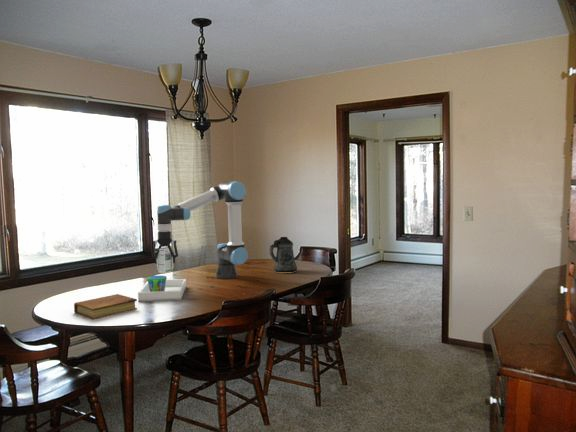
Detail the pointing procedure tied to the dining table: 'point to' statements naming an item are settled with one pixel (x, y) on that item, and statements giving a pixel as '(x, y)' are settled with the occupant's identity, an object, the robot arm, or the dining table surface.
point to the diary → (105, 306)
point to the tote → (172, 291)
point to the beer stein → (283, 255)
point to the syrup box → (164, 260)
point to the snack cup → (156, 283)
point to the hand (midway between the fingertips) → (165, 268)
